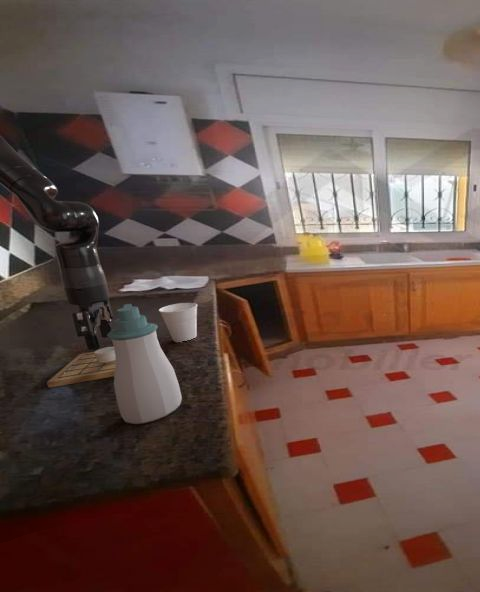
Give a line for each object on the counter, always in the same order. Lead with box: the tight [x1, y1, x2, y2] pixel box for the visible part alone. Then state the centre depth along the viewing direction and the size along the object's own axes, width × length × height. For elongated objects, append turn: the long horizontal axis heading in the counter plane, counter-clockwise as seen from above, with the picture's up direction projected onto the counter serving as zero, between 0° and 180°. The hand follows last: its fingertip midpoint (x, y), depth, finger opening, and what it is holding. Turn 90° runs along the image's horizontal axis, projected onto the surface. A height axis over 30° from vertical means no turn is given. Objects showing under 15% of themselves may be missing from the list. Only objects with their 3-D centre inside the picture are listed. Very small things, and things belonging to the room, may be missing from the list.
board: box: [46, 351, 115, 389], centre depth 86 cm, size 17×17×2 cm
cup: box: [158, 302, 198, 343], centre depth 101 cm, size 10×10×11 cm
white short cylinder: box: [93, 346, 116, 363], centre depth 85 cm, size 5×5×3 cm
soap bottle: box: [107, 303, 183, 425], centre depth 64 cm, size 10×10×23 cm
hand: (101, 342), depth 84 cm, fingers open, 8 cm apart
